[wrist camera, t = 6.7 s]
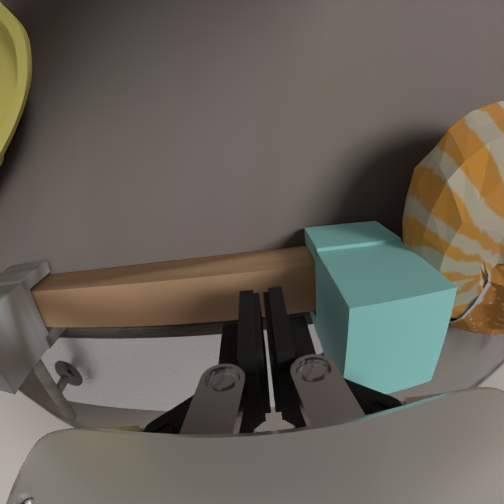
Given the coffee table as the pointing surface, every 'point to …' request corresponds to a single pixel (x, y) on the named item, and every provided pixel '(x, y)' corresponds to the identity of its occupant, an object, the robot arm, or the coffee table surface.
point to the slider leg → (377, 305)
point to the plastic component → (12, 75)
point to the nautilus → (464, 217)
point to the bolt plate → (142, 363)
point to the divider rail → (135, 302)
